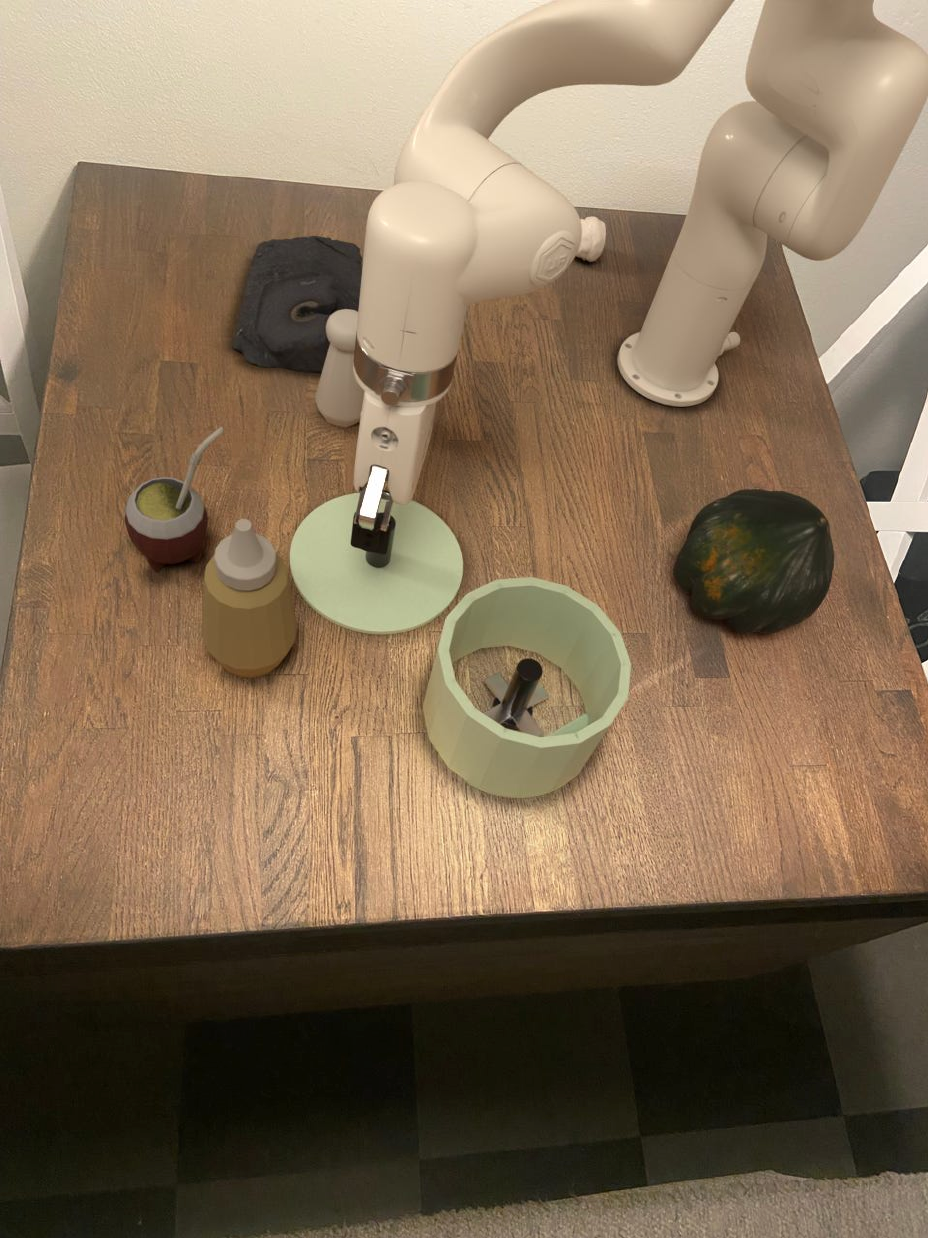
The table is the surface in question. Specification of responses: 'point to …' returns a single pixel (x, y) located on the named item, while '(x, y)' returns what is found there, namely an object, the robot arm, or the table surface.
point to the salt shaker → (340, 372)
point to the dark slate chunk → (296, 300)
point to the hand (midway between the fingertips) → (382, 507)
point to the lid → (376, 568)
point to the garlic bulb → (591, 239)
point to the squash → (757, 560)
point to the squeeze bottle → (247, 604)
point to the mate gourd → (169, 517)
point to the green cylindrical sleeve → (559, 634)
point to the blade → (517, 697)
